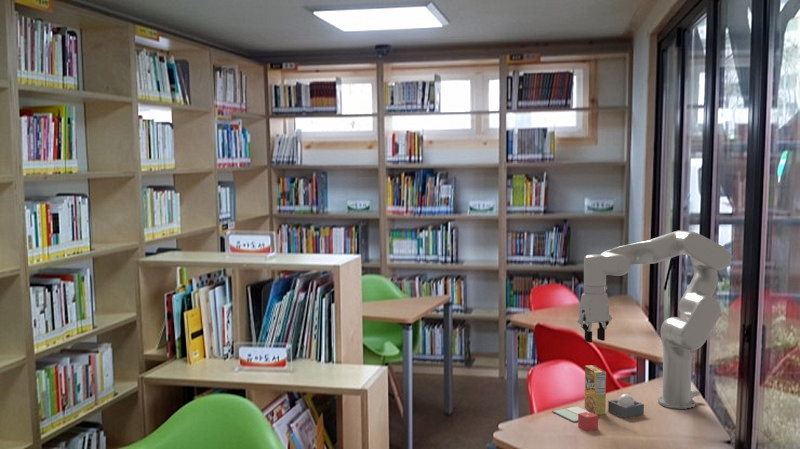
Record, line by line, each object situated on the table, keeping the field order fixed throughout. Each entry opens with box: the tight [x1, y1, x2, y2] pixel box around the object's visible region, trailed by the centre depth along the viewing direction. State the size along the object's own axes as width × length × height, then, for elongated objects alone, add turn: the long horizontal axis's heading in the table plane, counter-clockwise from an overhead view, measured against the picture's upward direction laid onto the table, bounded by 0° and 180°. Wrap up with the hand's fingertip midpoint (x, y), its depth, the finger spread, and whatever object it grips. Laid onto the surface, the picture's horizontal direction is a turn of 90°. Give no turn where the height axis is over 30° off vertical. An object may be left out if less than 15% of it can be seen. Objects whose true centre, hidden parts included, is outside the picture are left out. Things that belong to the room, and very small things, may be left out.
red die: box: [577, 411, 599, 432], centre depth 234 cm, size 4×4×5 cm
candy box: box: [584, 365, 607, 416], centre depth 250 cm, size 9×4×15 cm, turn 11°
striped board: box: [551, 405, 600, 423], centre depth 247 cm, size 11×12×1 cm
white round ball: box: [617, 393, 635, 407], centre depth 247 cm, size 6×6×6 cm
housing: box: [607, 398, 645, 420], centre depth 247 cm, size 8×8×4 cm
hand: (594, 340), depth 249 cm, fingers open, 4 cm apart
